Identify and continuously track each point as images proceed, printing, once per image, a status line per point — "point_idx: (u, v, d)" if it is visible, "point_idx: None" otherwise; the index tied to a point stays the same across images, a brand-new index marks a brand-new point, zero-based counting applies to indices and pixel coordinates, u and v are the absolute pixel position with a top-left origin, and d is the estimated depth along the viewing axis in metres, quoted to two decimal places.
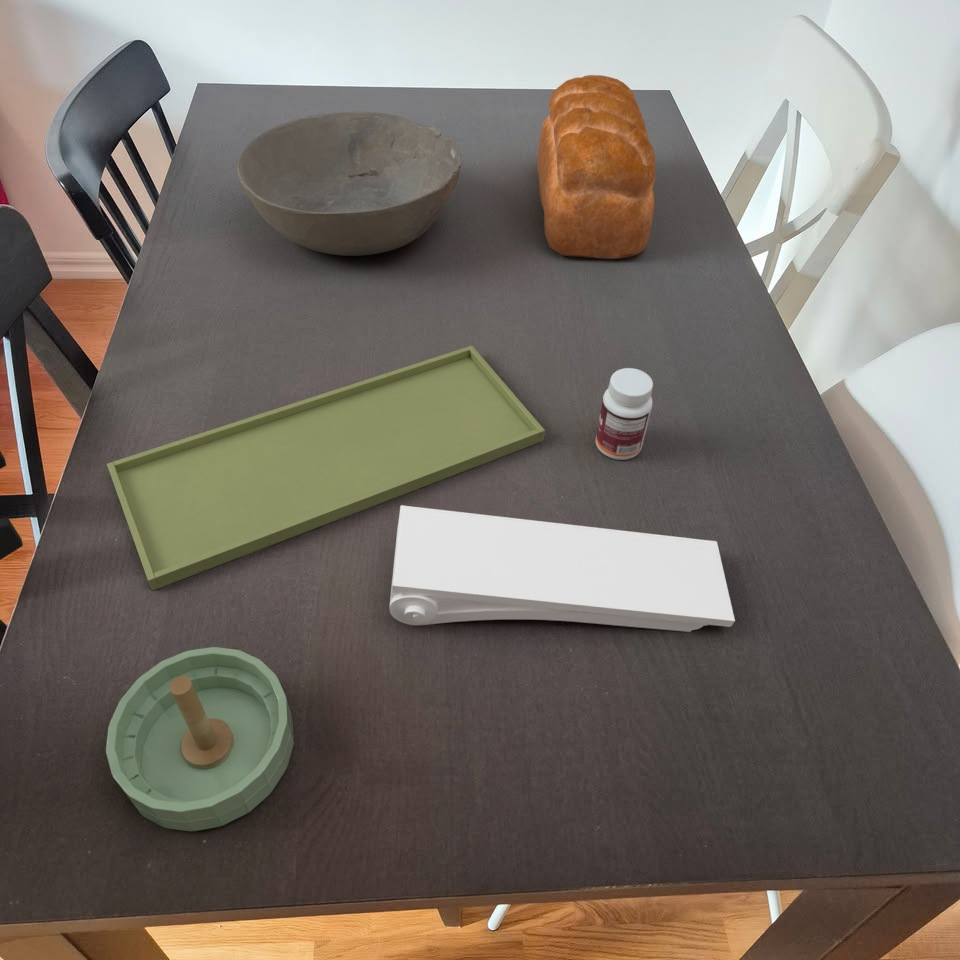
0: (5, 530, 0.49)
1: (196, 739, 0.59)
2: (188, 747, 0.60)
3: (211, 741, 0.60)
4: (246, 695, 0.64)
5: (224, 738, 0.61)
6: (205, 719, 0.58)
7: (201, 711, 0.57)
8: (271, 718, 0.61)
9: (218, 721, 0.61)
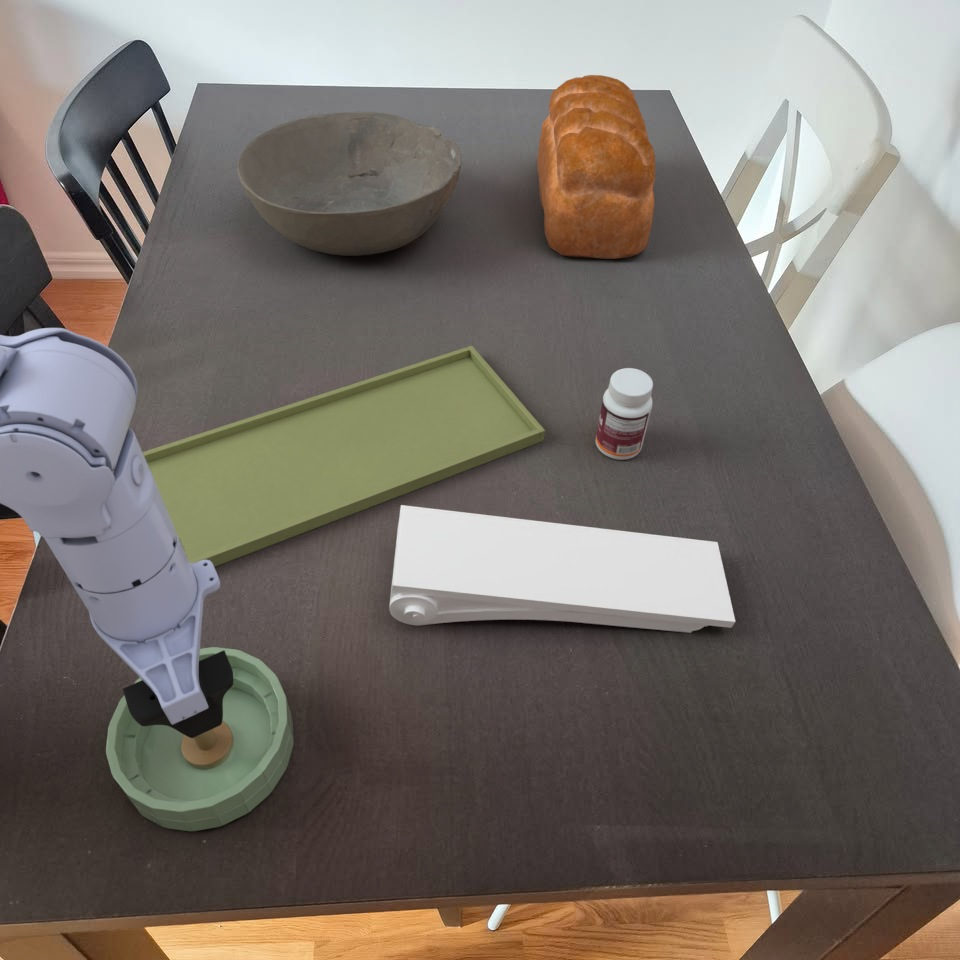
0: (217, 723, 0.51)
1: (196, 739, 0.59)
2: (188, 747, 0.60)
3: (211, 741, 0.60)
4: (246, 695, 0.64)
5: (224, 738, 0.61)
6: None
7: None
8: (271, 718, 0.61)
9: None
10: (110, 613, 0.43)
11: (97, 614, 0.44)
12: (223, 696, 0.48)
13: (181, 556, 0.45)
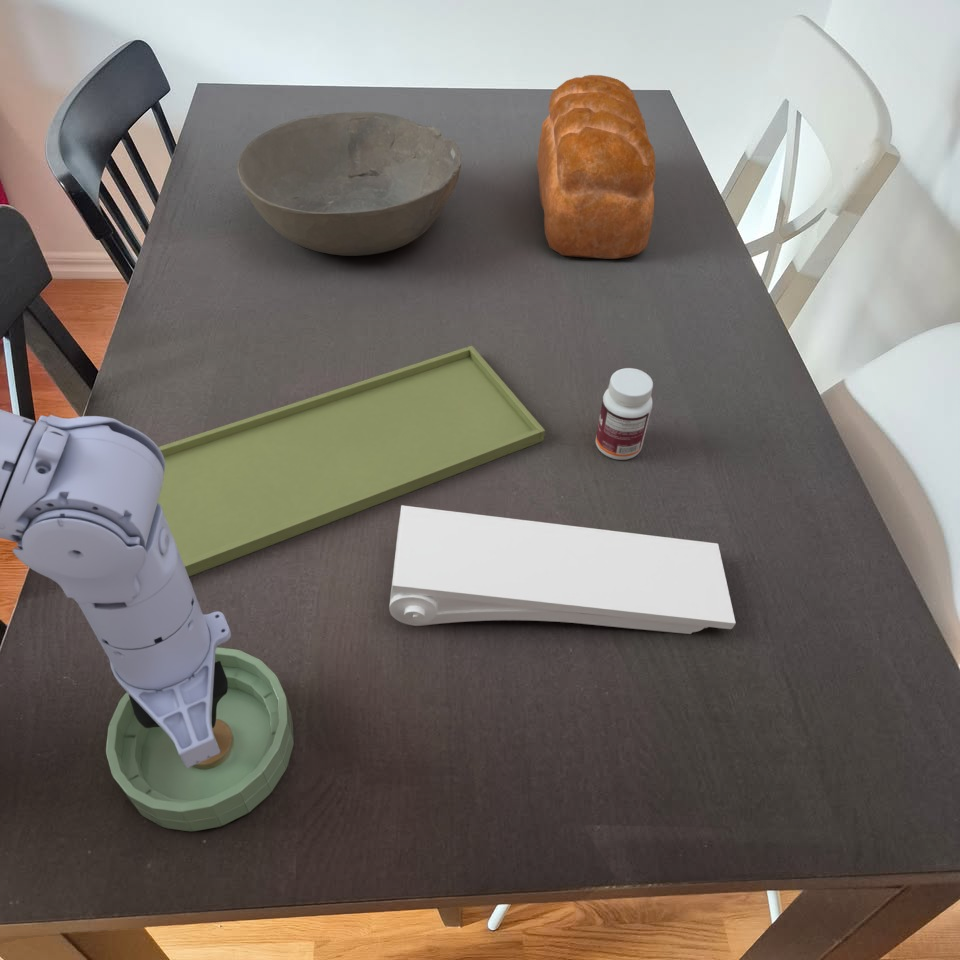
0: None
1: None
2: None
3: None
4: (246, 695, 0.64)
5: (224, 738, 0.61)
6: None
7: None
8: (271, 718, 0.61)
9: (218, 721, 0.61)
10: (132, 666, 0.47)
11: (119, 666, 0.48)
12: None
13: (197, 612, 0.49)
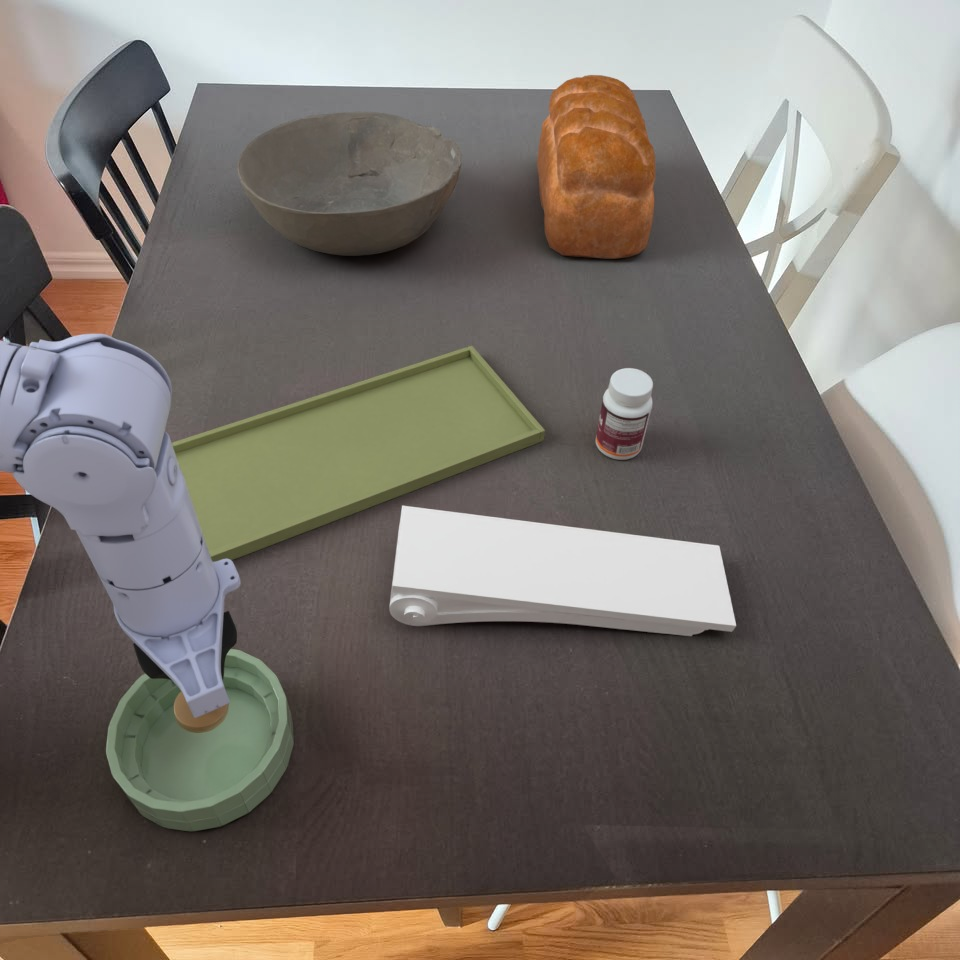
0: None
1: None
2: (181, 707, 0.57)
3: None
4: (246, 695, 0.64)
5: None
6: None
7: None
8: (271, 718, 0.61)
9: None
10: (137, 609, 0.45)
11: (124, 610, 0.45)
12: (226, 654, 0.51)
13: (206, 555, 0.46)
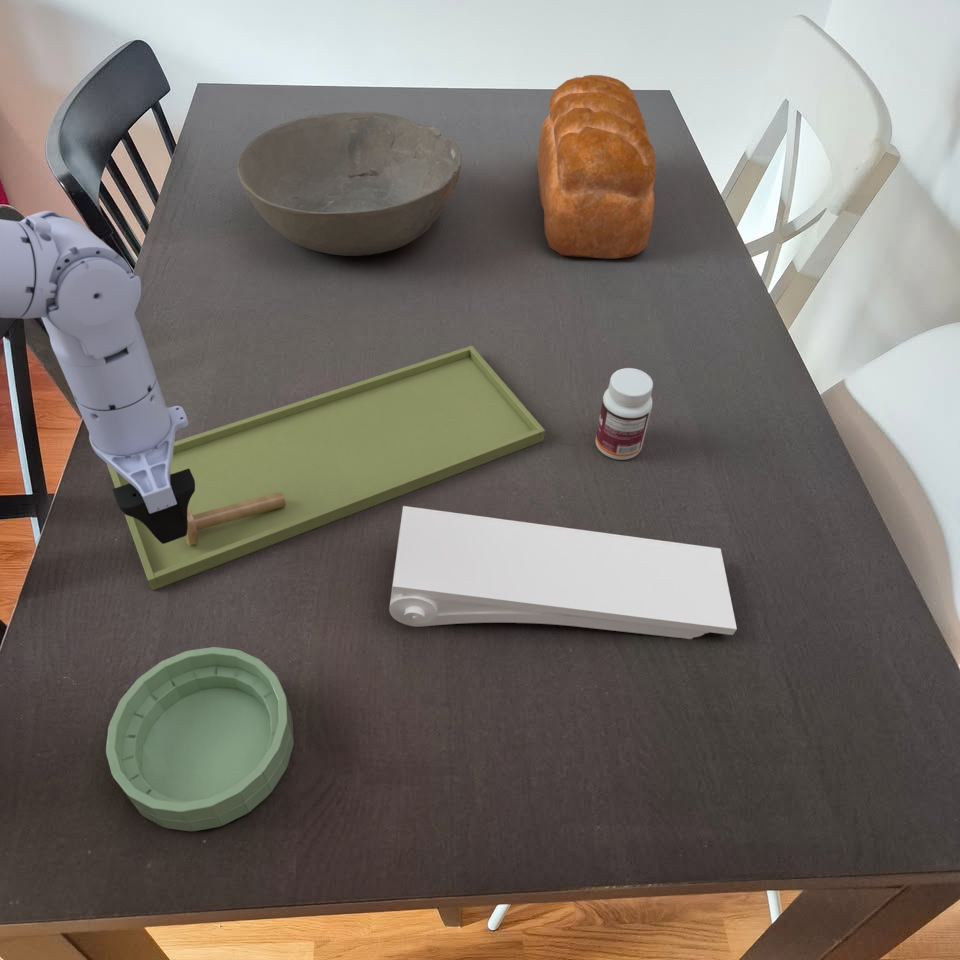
0: (183, 534, 0.67)
1: (212, 517, 0.73)
2: None
3: (202, 528, 0.73)
4: (246, 695, 0.64)
5: None
6: None
7: None
8: (271, 718, 0.61)
9: None
10: (106, 429, 0.59)
11: (96, 431, 0.60)
12: (187, 503, 0.64)
13: (159, 393, 0.61)
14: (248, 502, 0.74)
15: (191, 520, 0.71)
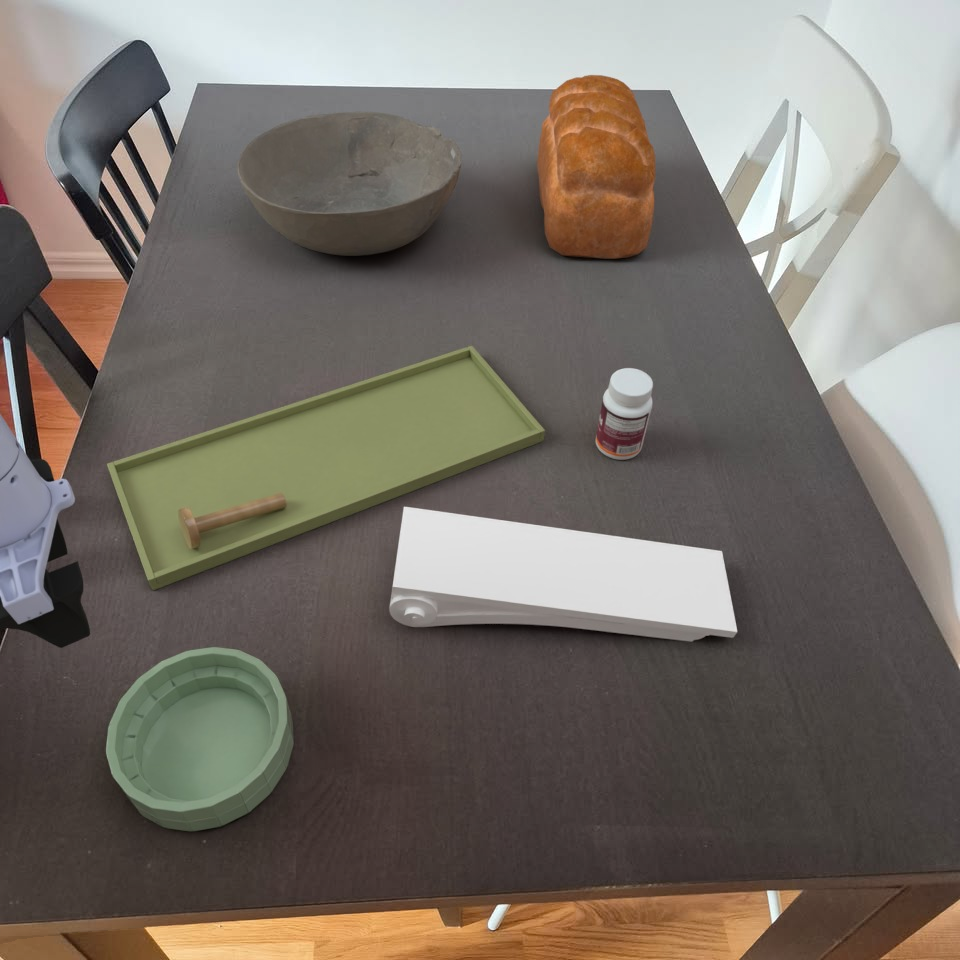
0: (84, 634, 0.55)
1: (214, 521, 0.72)
2: None
3: (204, 531, 0.73)
4: (246, 695, 0.64)
5: None
6: (235, 522, 0.74)
7: (250, 517, 0.75)
8: (271, 718, 0.61)
9: None
10: None
11: None
12: (79, 604, 0.52)
13: (25, 470, 0.48)
14: (250, 505, 0.74)
15: (194, 528, 0.71)
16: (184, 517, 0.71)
